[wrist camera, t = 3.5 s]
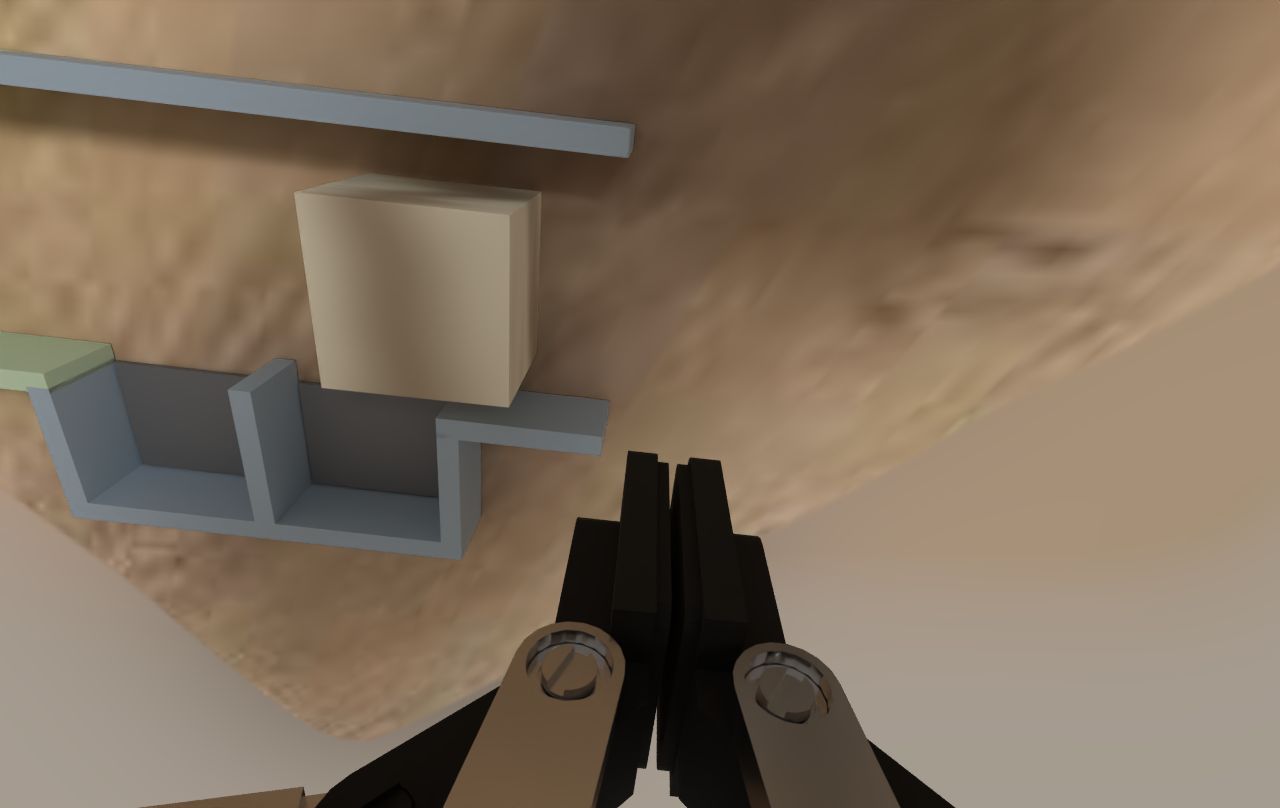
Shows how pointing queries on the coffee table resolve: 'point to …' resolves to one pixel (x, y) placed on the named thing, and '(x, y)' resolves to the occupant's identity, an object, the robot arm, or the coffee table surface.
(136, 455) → the tray
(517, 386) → the birch block
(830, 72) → the coffee table surface
